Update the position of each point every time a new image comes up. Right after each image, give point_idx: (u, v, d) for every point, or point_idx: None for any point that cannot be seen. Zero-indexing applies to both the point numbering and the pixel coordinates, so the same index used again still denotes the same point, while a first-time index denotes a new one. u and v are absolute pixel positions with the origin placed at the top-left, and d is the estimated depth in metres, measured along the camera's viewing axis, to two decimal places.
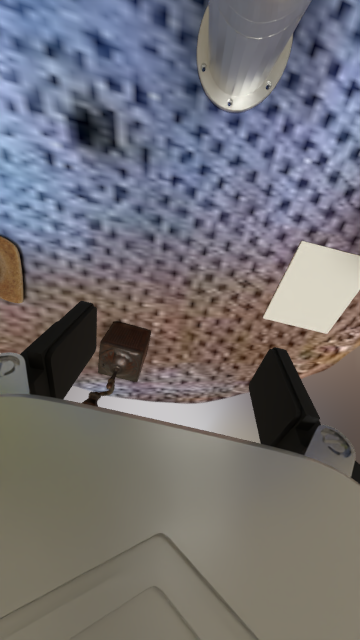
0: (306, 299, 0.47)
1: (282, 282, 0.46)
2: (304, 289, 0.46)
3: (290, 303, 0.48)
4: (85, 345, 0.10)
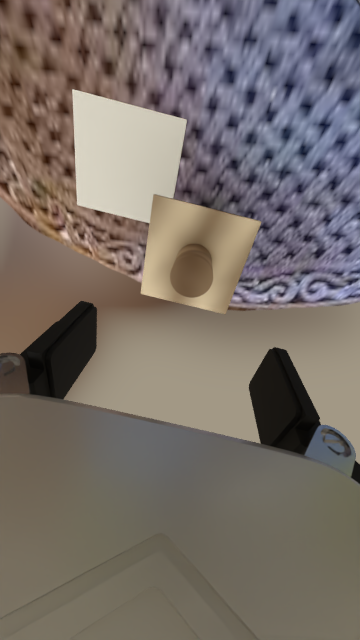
0: (115, 156, 0.37)
1: (132, 107, 0.33)
2: (127, 147, 0.36)
3: (105, 133, 0.35)
4: (85, 345, 0.10)
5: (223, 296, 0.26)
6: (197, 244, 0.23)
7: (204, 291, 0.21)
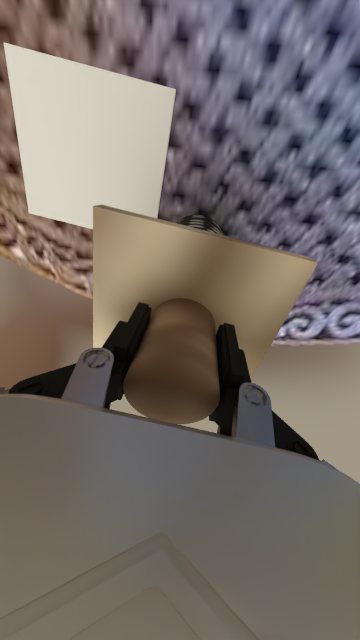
0: (74, 145, 0.26)
1: (93, 71, 0.22)
2: (91, 132, 0.25)
3: (57, 110, 0.24)
4: None
5: None
6: (187, 301, 0.12)
7: (200, 416, 0.09)
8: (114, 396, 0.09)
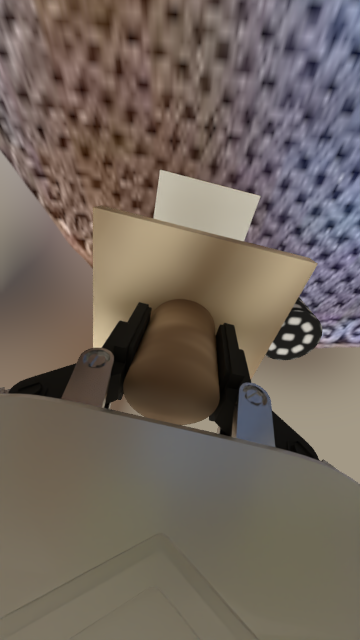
0: (189, 222, 0.41)
1: (212, 185, 0.37)
2: (202, 215, 0.40)
3: (183, 204, 0.39)
4: None
5: None
6: (187, 301, 0.12)
7: (200, 417, 0.09)
8: (114, 396, 0.09)
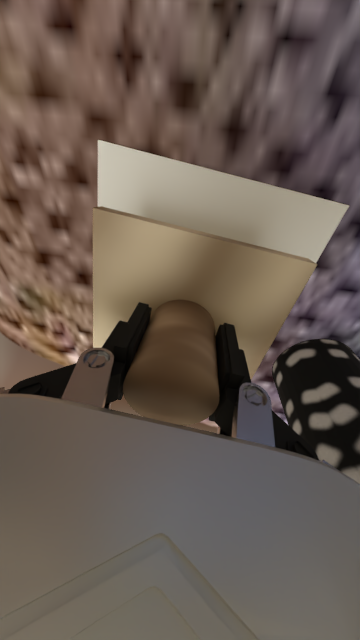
0: None
1: (228, 179, 0.15)
2: None
3: None
4: None
5: None
6: (187, 302, 0.12)
7: (200, 418, 0.09)
8: (114, 396, 0.09)
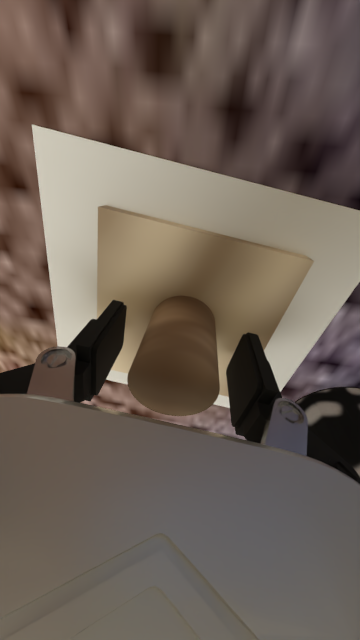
0: None
1: (226, 183, 0.10)
2: None
3: None
4: (117, 341, 0.11)
5: None
6: (188, 298, 0.12)
7: (201, 408, 0.10)
8: (79, 397, 0.08)
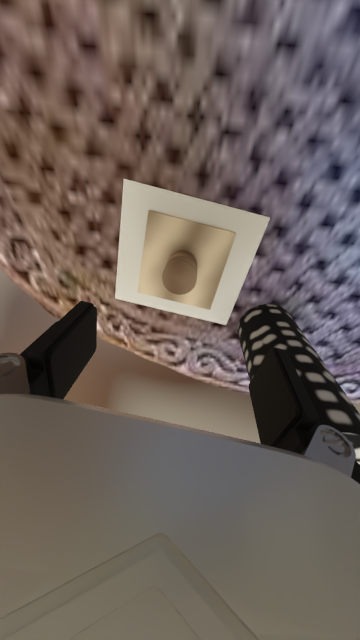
0: None
1: (200, 201, 0.26)
2: None
3: None
4: (85, 345, 0.10)
5: (208, 294, 0.31)
6: (185, 251, 0.28)
7: (190, 289, 0.25)
8: None
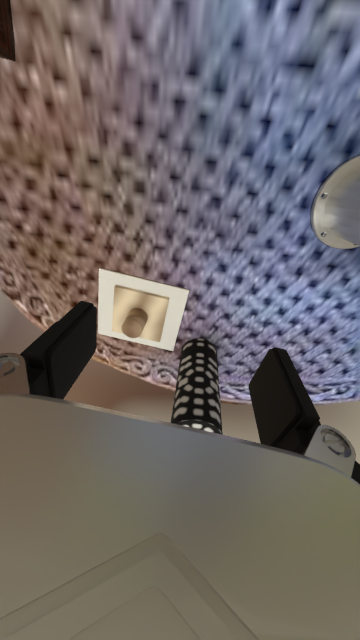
0: None
1: (145, 281, 0.42)
2: None
3: None
4: (85, 345, 0.10)
5: (157, 333, 0.47)
6: (138, 308, 0.44)
7: (139, 335, 0.42)
8: None
